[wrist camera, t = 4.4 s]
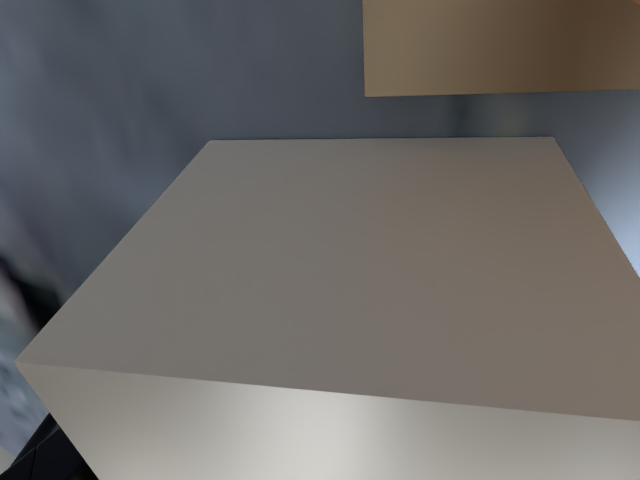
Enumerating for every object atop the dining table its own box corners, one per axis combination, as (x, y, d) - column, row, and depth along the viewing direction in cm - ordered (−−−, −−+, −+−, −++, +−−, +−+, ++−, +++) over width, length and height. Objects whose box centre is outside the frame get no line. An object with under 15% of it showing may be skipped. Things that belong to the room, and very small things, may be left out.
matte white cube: (260, 352, 15) (178, 588, 10) (209, 140, 11) (13, 362, 5) (498, 371, 14) (550, 656, 8) (553, 136, 9) (732, 430, 4)
